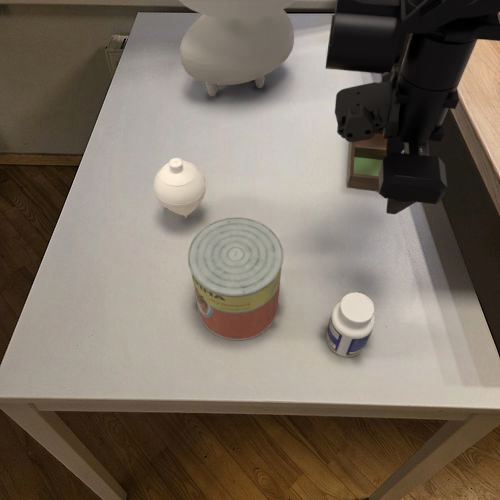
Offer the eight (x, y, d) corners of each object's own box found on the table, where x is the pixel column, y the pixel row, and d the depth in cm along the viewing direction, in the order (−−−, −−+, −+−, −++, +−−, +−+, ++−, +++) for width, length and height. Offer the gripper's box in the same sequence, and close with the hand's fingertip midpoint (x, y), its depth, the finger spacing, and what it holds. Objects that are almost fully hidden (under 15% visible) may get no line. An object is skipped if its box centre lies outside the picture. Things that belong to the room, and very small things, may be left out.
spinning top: (200, 241, 69) (191, 187, 60) (154, 229, 71) (138, 175, 61) (216, 205, 74) (211, 149, 64) (173, 195, 75) (161, 138, 65)
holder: (391, 134, 84) (395, 122, 81) (393, 193, 75) (398, 180, 73) (349, 130, 84) (352, 117, 82) (346, 187, 76) (349, 175, 73)
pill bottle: (368, 327, 61) (384, 294, 54) (361, 363, 58) (376, 333, 51) (330, 316, 62) (340, 282, 55) (320, 350, 59) (330, 319, 52)
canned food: (186, 285, 65) (175, 235, 55) (257, 259, 67) (258, 206, 58) (215, 353, 59) (208, 310, 49) (292, 321, 61) (300, 274, 52)
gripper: (350, 18, 50) (330, 130, 63) (342, 127, 39) (320, 235, 52) (453, 26, 49) (412, 138, 62) (474, 140, 38) (419, 247, 51)
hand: (390, 185), depth 57 cm, fingers open, 9 cm apart
